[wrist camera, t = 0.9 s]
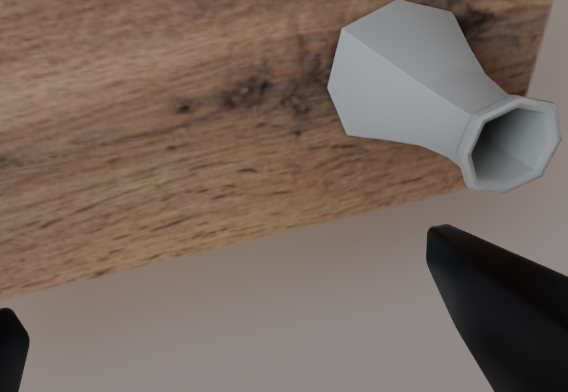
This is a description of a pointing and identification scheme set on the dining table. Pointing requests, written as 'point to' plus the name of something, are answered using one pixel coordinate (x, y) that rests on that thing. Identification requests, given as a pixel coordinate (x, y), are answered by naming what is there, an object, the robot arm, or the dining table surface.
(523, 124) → the flask
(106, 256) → the dining table surface
